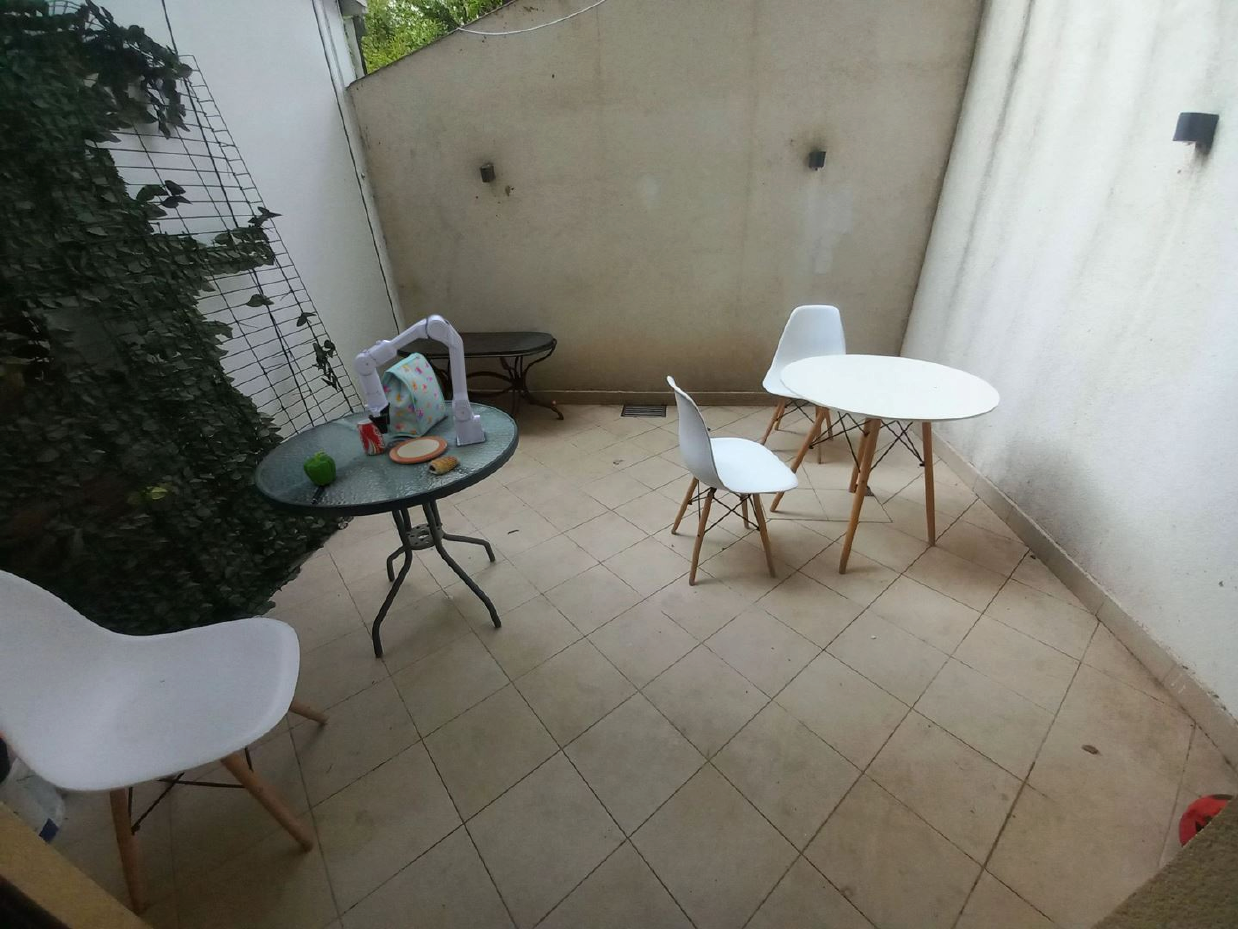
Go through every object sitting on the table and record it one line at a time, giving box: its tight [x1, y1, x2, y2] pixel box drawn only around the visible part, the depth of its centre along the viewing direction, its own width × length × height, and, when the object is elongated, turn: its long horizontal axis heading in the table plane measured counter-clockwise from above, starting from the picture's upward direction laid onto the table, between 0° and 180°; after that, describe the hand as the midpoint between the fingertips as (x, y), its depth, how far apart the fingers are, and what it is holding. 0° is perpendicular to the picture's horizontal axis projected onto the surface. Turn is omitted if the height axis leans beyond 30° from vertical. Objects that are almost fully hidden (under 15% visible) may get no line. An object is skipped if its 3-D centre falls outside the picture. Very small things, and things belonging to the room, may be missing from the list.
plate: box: [389, 436, 448, 465], centre depth 167 cm, size 19×19×2 cm
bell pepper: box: [302, 450, 337, 486], centre depth 150 cm, size 8×8×10 cm
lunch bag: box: [380, 352, 449, 439], centre depth 181 cm, size 23×16×27 cm
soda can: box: [356, 416, 387, 456], centre depth 167 cm, size 7×7×12 cm
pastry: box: [426, 456, 459, 475], centre depth 155 cm, size 9×7×4 cm
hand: (385, 429), depth 161 cm, fingers open, 7 cm apart
